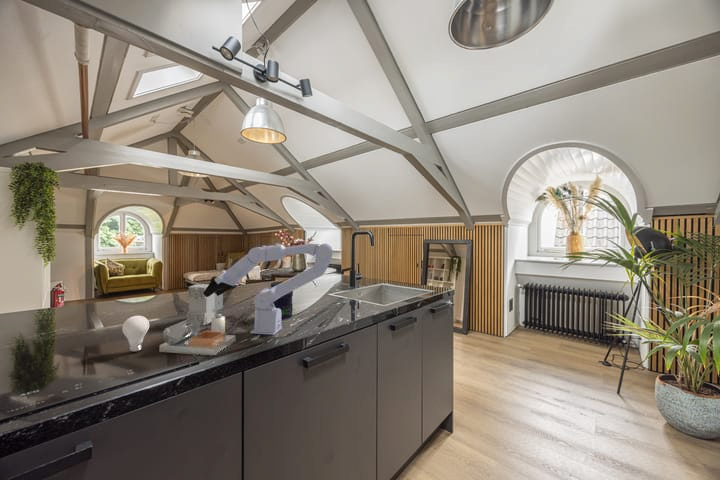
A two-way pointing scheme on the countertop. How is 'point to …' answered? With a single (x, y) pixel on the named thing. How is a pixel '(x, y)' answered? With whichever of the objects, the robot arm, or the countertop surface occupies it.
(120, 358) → the countertop surface
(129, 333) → the light bulb
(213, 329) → the white bottle
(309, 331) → the countertop surface
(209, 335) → the white rectangular base assembly
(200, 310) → the circuit breaker
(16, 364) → the countertop surface
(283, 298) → the storage jar
